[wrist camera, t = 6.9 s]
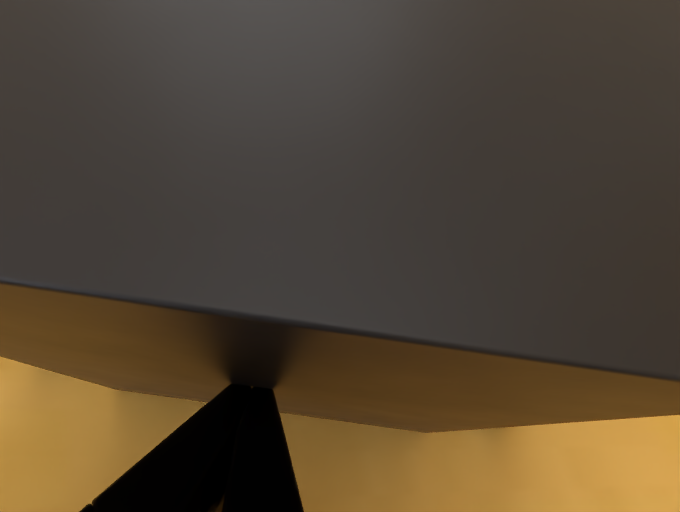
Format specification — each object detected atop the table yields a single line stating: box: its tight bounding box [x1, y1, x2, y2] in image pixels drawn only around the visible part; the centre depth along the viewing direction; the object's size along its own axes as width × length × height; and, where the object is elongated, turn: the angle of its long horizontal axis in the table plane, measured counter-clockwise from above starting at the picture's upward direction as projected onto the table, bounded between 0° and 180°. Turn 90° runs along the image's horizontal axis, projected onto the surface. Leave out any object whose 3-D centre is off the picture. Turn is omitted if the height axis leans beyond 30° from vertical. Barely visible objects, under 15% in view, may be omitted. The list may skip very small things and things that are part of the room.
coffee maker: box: [0, 0, 680, 433], centre depth 12 cm, size 14×11×13 cm
